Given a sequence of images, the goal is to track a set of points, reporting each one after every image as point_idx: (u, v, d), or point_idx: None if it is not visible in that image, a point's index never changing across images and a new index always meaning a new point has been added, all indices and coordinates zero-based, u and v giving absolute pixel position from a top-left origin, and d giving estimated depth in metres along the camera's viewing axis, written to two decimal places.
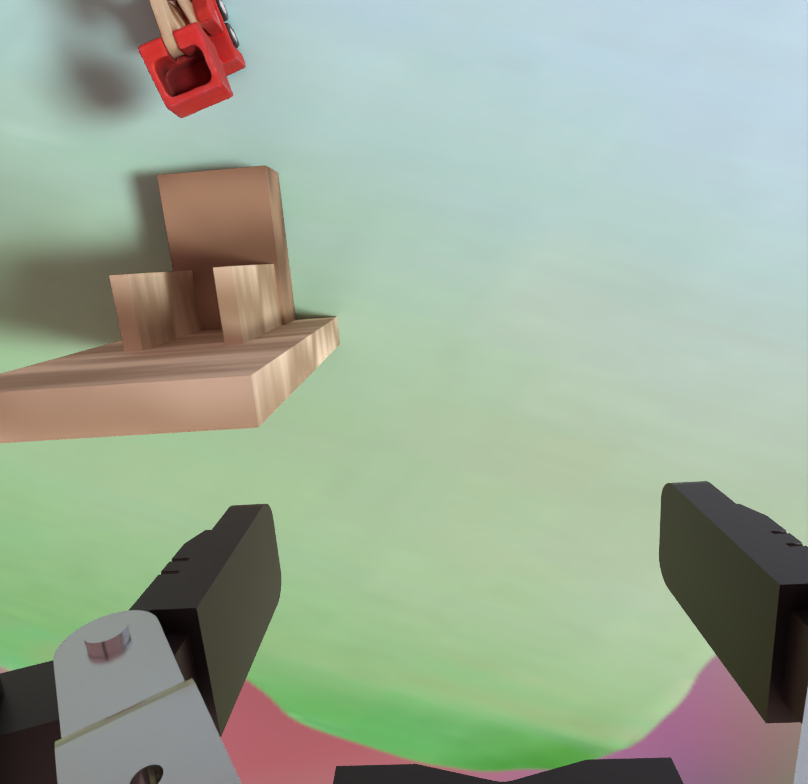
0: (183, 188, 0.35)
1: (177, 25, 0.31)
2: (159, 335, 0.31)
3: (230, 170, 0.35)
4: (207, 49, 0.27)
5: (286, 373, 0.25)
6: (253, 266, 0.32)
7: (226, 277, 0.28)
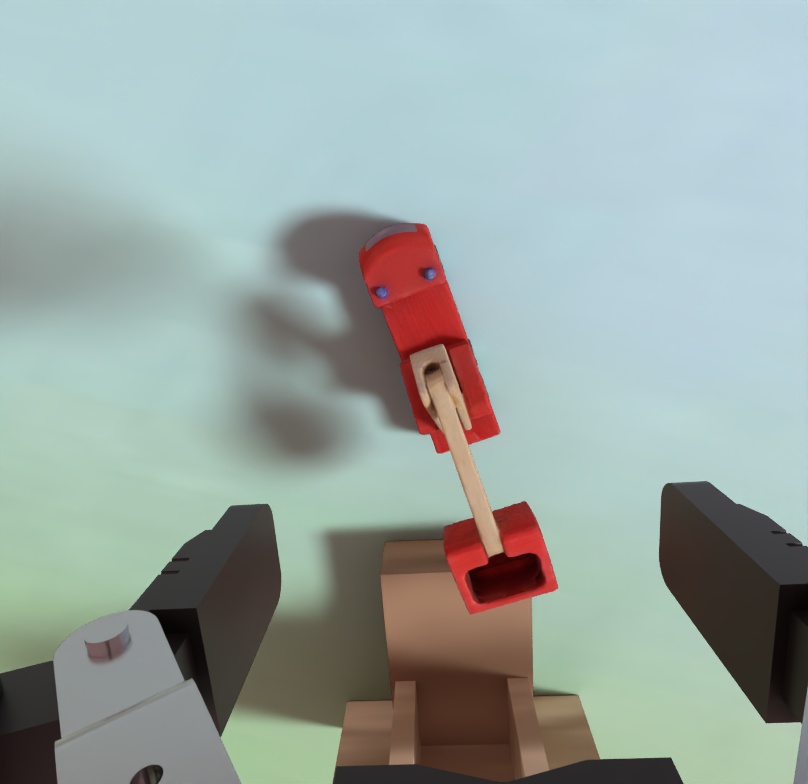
0: (415, 591, 0.26)
1: None
2: None
3: None
4: (547, 555, 0.18)
5: None
6: (546, 760, 0.23)
7: None
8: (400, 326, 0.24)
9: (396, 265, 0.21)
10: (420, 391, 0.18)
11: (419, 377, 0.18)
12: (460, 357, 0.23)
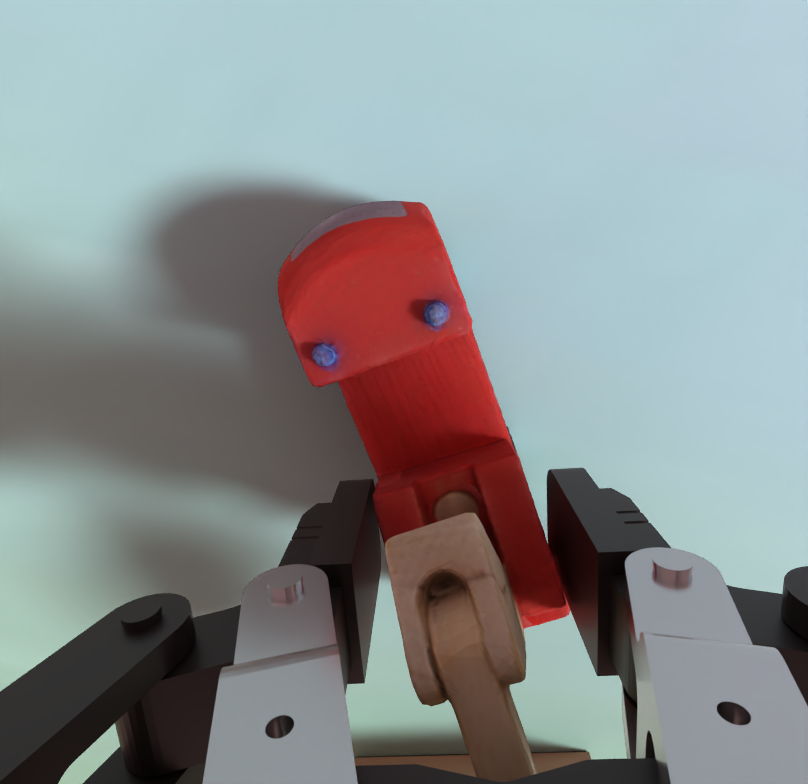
0: None
1: None
2: None
3: None
4: None
5: None
6: None
7: None
8: (374, 413, 0.12)
9: (358, 293, 0.09)
10: (413, 673, 0.06)
11: (411, 622, 0.06)
12: (499, 485, 0.11)
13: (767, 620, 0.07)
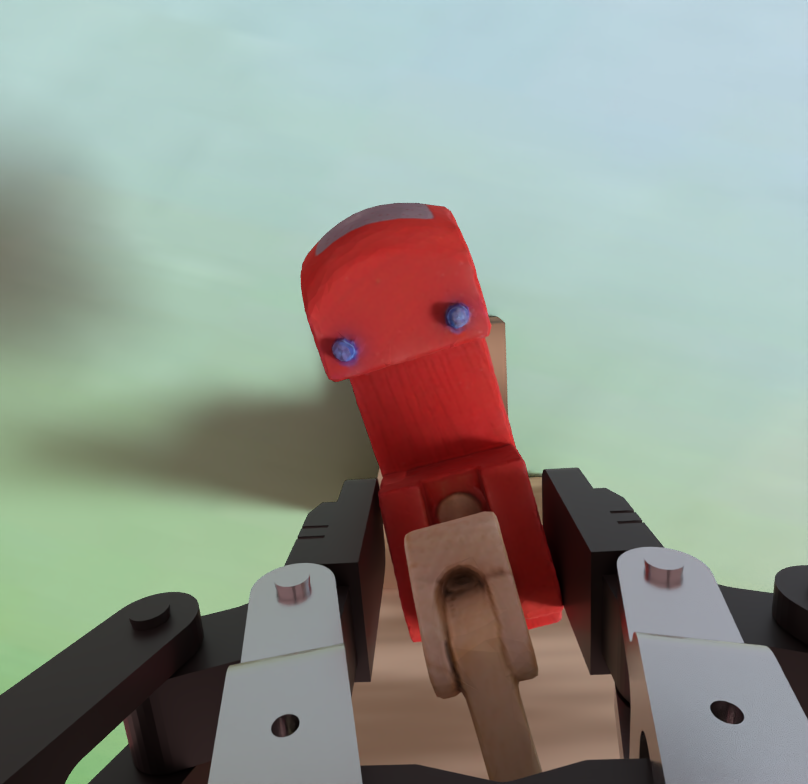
0: None
1: None
2: None
3: None
4: None
5: None
6: None
7: None
8: (382, 411, 0.12)
9: (381, 291, 0.09)
10: (431, 665, 0.06)
11: (429, 615, 0.07)
12: (504, 489, 0.11)
13: (758, 619, 0.07)
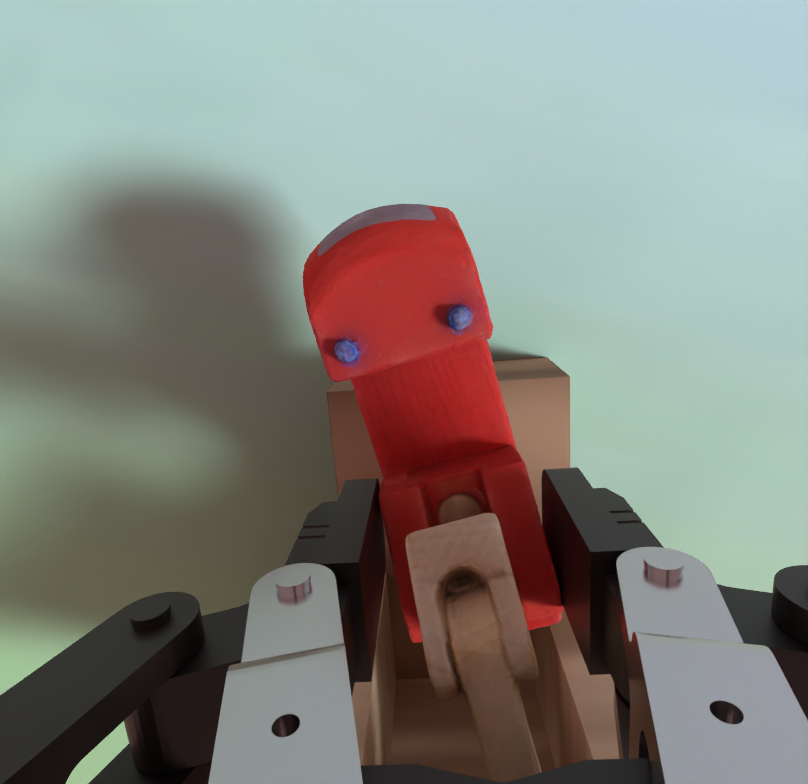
0: None
1: None
2: None
3: None
4: None
5: None
6: None
7: None
8: (384, 411, 0.12)
9: (384, 292, 0.09)
10: (432, 666, 0.06)
11: (430, 616, 0.07)
12: (505, 490, 0.11)
13: (757, 619, 0.07)
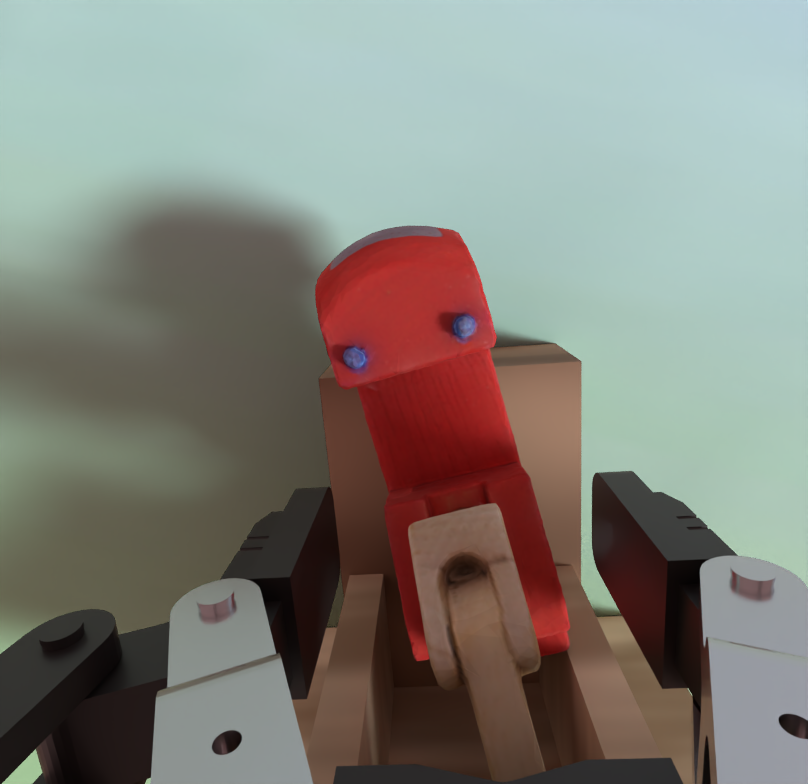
0: None
1: None
2: None
3: None
4: None
5: None
6: (625, 683, 0.12)
7: None
8: (390, 426, 0.12)
9: (391, 302, 0.10)
10: (432, 649, 0.06)
11: (431, 600, 0.07)
12: (510, 503, 0.11)
13: None
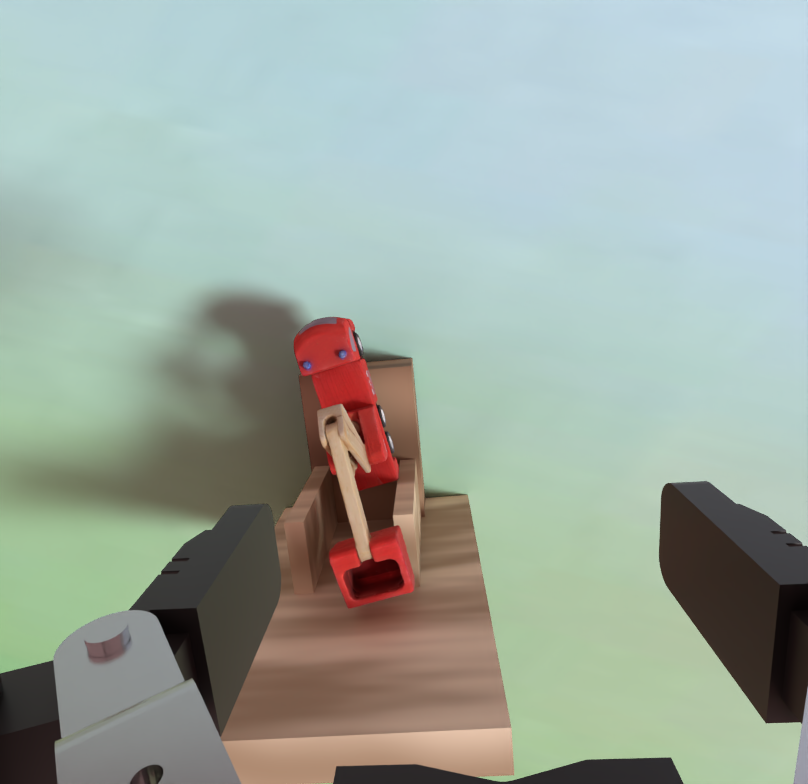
0: None
1: None
2: (320, 562, 0.30)
3: (374, 370, 0.34)
4: (404, 562, 0.25)
5: None
6: (414, 487, 0.31)
7: (406, 524, 0.27)
8: (324, 392, 0.31)
9: (318, 346, 0.29)
10: (320, 435, 0.25)
11: (321, 426, 0.26)
12: (365, 417, 0.30)
13: None
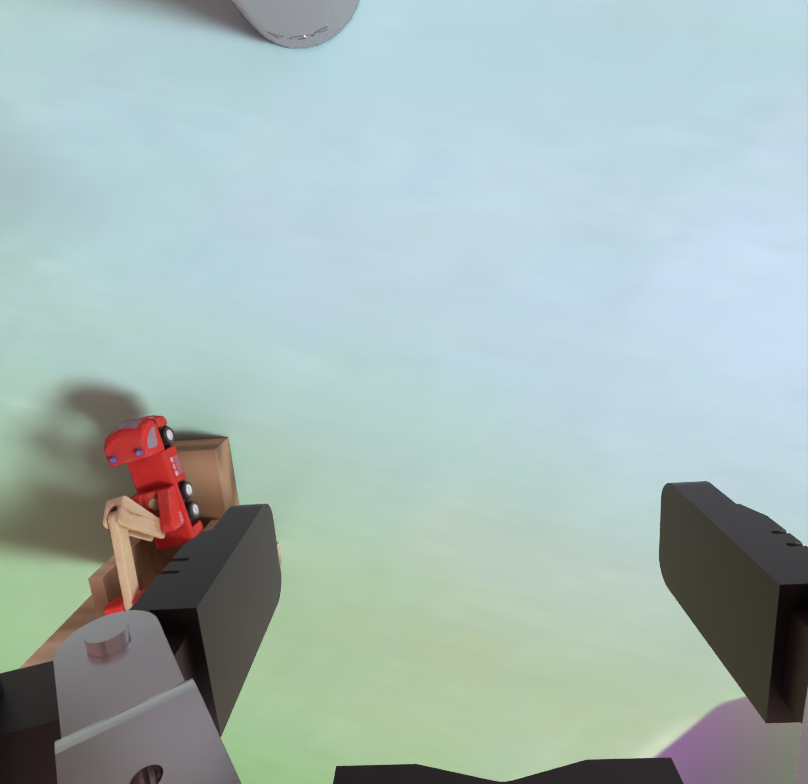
0: None
1: (145, 539, 0.39)
2: None
3: (187, 452, 0.44)
4: None
5: None
6: None
7: None
8: (136, 474, 0.41)
9: (121, 446, 0.39)
10: (103, 521, 0.35)
11: (105, 513, 0.35)
12: (162, 496, 0.40)
13: None
